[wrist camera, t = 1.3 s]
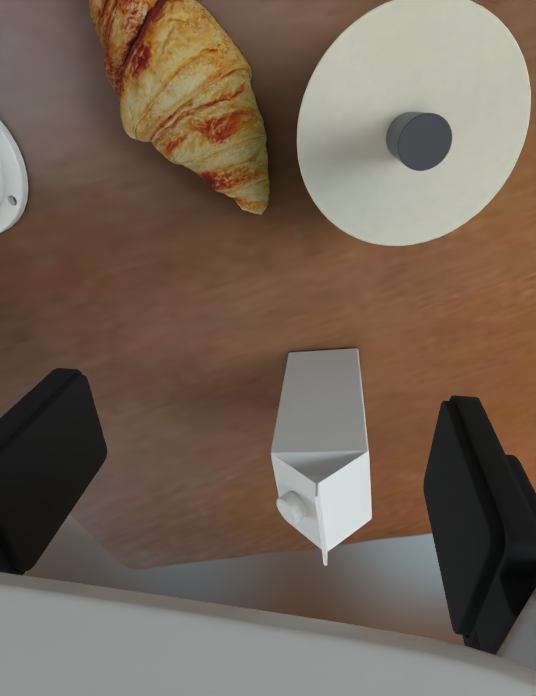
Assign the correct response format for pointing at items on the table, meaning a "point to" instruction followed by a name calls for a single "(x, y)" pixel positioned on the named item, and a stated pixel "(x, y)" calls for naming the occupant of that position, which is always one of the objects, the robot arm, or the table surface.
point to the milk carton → (322, 447)
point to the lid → (413, 120)
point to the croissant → (186, 92)
